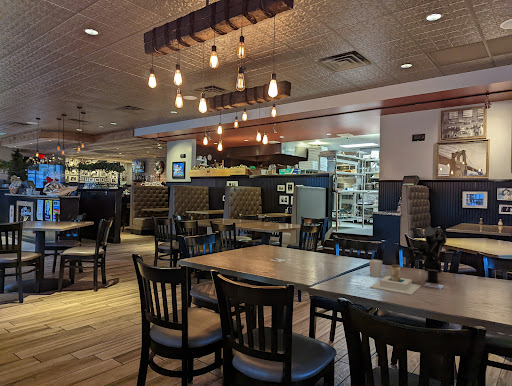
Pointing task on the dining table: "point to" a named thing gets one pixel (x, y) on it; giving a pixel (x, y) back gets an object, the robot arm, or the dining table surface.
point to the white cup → (375, 268)
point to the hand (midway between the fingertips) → (415, 265)
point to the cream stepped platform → (396, 286)
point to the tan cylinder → (395, 273)
